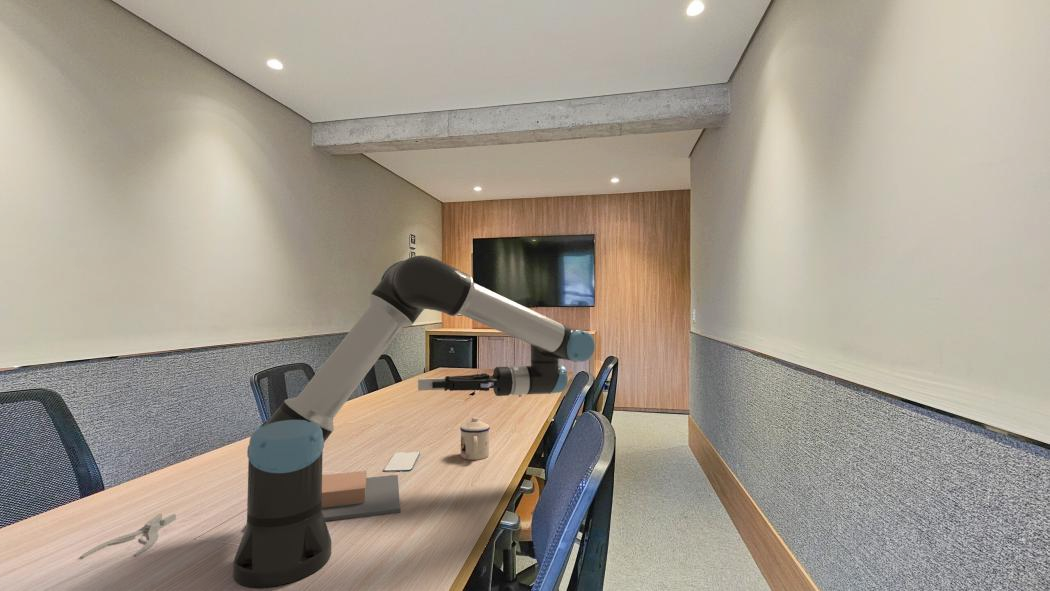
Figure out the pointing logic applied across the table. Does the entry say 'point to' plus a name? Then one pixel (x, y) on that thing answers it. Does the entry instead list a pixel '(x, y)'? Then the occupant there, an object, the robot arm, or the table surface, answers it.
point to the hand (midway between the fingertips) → (418, 384)
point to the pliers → (149, 527)
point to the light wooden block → (343, 488)
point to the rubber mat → (370, 500)
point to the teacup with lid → (474, 440)
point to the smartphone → (402, 461)
